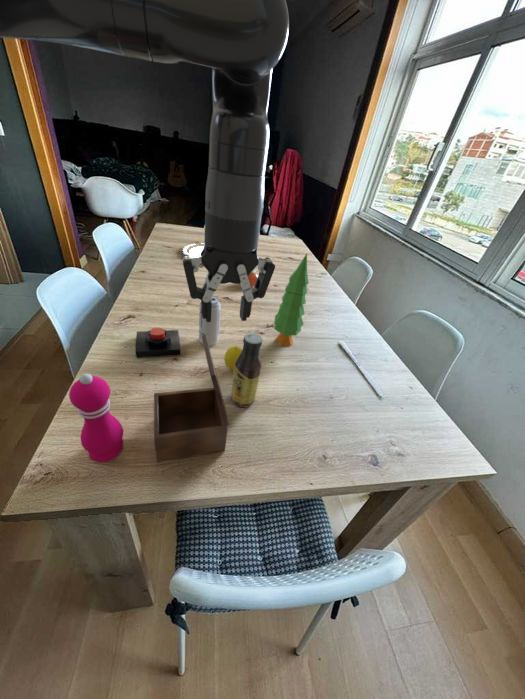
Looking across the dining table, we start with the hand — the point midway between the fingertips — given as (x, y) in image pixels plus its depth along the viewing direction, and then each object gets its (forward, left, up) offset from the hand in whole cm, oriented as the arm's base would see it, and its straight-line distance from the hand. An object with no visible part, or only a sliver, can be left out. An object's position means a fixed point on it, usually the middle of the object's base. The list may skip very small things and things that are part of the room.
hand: (225, 318), depth 49 cm
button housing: (-12, +33, -29) cm, 46 cm away
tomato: (+27, +75, -30) cm, 85 cm away
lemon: (+8, +20, -30) cm, 37 cm away
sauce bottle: (+8, +8, -30) cm, 32 cm away
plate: (+15, +111, -30) cm, 116 cm away
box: (-6, 0, -29) cm, 30 cm away
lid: (-1, 0, -14) cm, 14 cm away
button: (-12, +33, -26) cm, 44 cm away
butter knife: (+48, +16, -30) cm, 59 cm away
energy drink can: (+3, +34, -30) cm, 45 cm away
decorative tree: (+28, +32, -30) cm, 52 cm away
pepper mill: (-22, -1, -30) cm, 37 cm away
